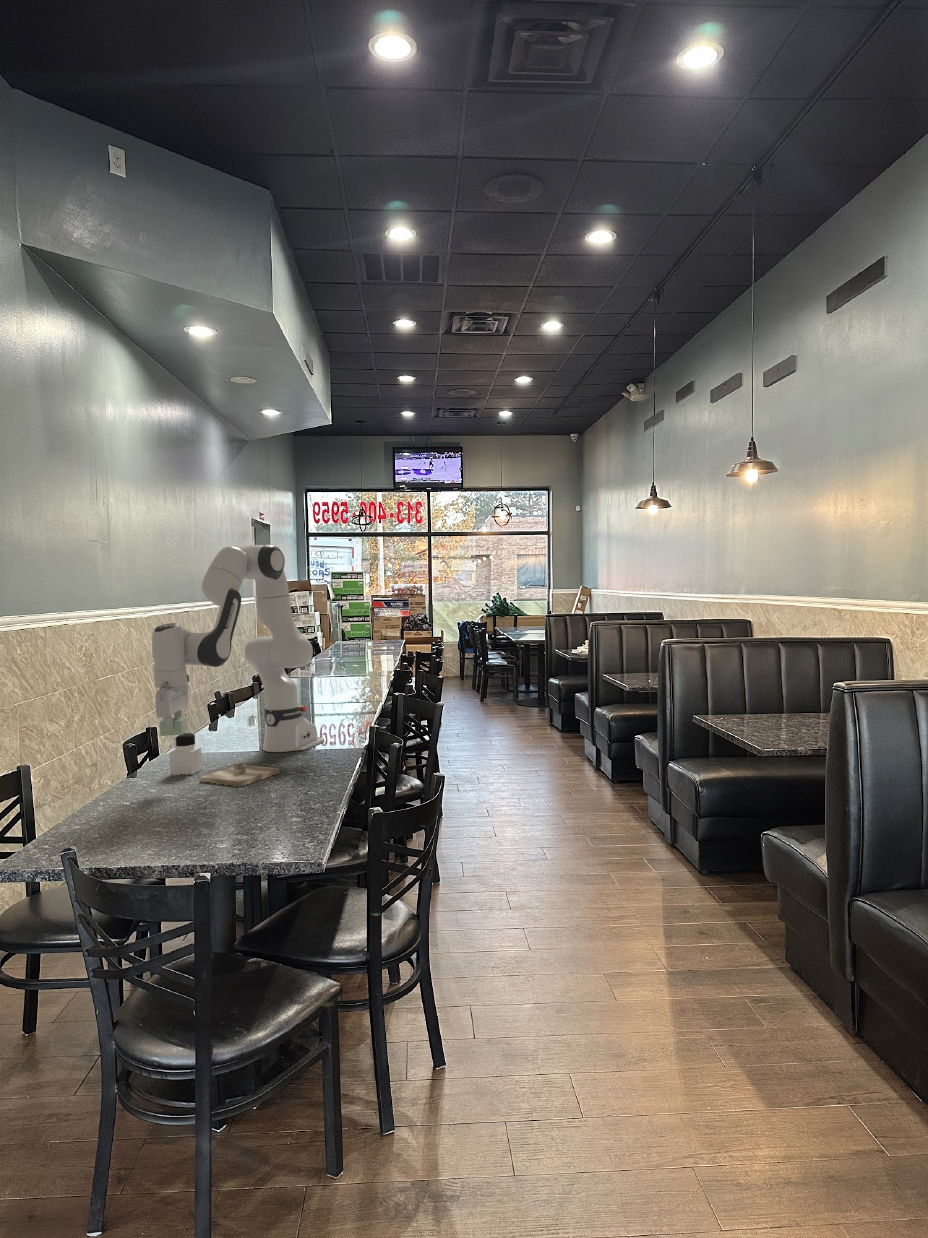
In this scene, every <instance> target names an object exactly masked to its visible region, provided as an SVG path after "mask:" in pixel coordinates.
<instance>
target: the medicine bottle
mask: <svg viewBox="0 0 928 1238" xmlns="http://www.w3.org/2000/svg"><path fill="white" fill-rule="evenodd" d="M173 739H174V740H173V741H174V742H173V743H174V748H175V749H174V750H172V751H170V752H169V766H170V767H169V768H170V775H171V774H172V775H171V776H174V775H173V774H183V775H182V776H189V774H193V775H194V774H196V773H197V772H200V771H201V770H203V761H202V760H203V759H202V758H203V757H202V747H201V746H196V735H195V734H194V733H193V732H192V733H191V732H185V733H184V734H182V735H174V737H173ZM184 774H185V775H184Z"/></svg>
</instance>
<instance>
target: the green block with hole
mask: <svg viewBox="0 0 928 1238" xmlns="http://www.w3.org/2000/svg"><path fill="white" fill-rule="evenodd" d="M187 720H188V718H187V716H185V717H183V716H181V718H174V717H173V718H172V721H173V723H174V729H173V730H166V724H165V721H164V719H162V720H160V721H159V733H160V734H159V735H160V737H163V736H165V737H168V736H176V735H182V734H184V733H187V732H188V721H187Z"/></svg>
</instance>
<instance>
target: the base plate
mask: <svg viewBox="0 0 928 1238" xmlns="http://www.w3.org/2000/svg"><path fill="white" fill-rule="evenodd" d="M276 774H277V775H279V774H280V768H276V767H270V766H269V767H267V766H259V765H258V766H257V765H250V764H246V761H238V762H234V763H233V766H230V767H227V768H224V769H221V770H217V771H215V772H211V773H207V774H204V775H200V776H199V778H200V779H199V780H200V783H206V782H211V783H210V784H213V783H216V784H215V785H221V784H224V785H223V786H228V785H234V786H233V787H236V786H238V787H237V788H241V787H243V785H244V786H247V785H250V784H253V783H255V782H259V781H262V780H265V779H267V777H268V778H271V777H273V776H272V775H274V776H276ZM270 776H271V777H270ZM261 779H262V780H261ZM258 780H259V781H258ZM252 782H253V783H252ZM246 784H247V785H246Z"/></svg>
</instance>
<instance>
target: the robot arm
mask: <svg viewBox="0 0 928 1238" xmlns="http://www.w3.org/2000/svg"><path fill="white" fill-rule="evenodd" d="M285 560H286V559H285V556H284V552H282V550H281V549H280V548H279V547H278V546H276V545H272V544H263V545H262V544H252V545H247V546H240V547H236V546H230V545H229V546H224V547H223V548H221V549H220V550H219V552H218V553H216V555H215V557H214V559H213V560H212V562H211V563H210V565H209V567H208V569H207V570H206V572H205V574H204V576H203V579H202V582H201V589H202V590H201V591H202V593H203V595H204V596H205V598H206V599H207V600H208V601H209V602H211V603H212V604H213V605H216V606H218V607H219V608H218V612H217V617H216V620H215V623H214V627H213V628H212V629H211V630H210V631H208V632H192V631H189V630H186V629H185V628H184V627H182V626H181V624H180V623H177V622H171V623H165V624H160V625H158V626H156V627H155V628H154V629H153V632H152V635H151V652H152V654H151V655H152V659H153V663H154V667H153V680H154V681H153V683H154V688H155V689H158V690H156V693H155V714H156V717H157V718H163V720H164V721H165V724H166V730H173V729H174V723H173V721H172V718H181V717H182V713H183V709H184V708H185V707H187V706H188V703H189V682H190V675H189V674H188V673H187V666H205V667H212V668H213V667H214V668H219V667H221V666H223V665H224V664H225V663H226V662H227V661H228V659H229V657H230V656H231V652H232V641H233V636H234V633H235V629H236V626H237V621H238V618H239V615H240V610H241V606H242V597H241V596H242V595H241V594H240V588H241V585H242V583H243V581H244V580H254V582H255V599H256V608H257V615H258V616H257V618H258V620H259V622H260V623H261V624H262V625H263V626H265V627H266V628H267V629H268V630H269V632H270V633H271V635H270V636H269V635H267V636H266V635H265V636H259V637H255V638H252V639H250V640H249V641H247V644H246V645H245V649H244V656H245V660H246V661H247V662H248V664H250V665H251V666H252V668H254V669H255V670H256V672H257V674H258V676H259V678H260V680H261V683H262V687H263V693H264V694H263V696H264V705H265V708H264V720H265V725H264V741H263V744H262V747H263V748H262V751H264V752H269V753H284V752H285V753H286V752H293V751H305V750H307V749H310V748H312V747H315V746H316V745H320V744H321V743H324V742H325V741H326V740H325V738H324V737H322V736H318V730H317V726H316V725H315V724H314V723H312V722H311V721H310V720H308V719H307V718H305V716H303V713H307V710H308V707H307V706H306V705H301V706H300V705H299V700H298V686H297V683H296V682H295V681H294V680H293V679H291V678H290V677H289V676H288V674H287V673H286V671H285V669H296V668H301V667H305V666H307V665H308V664H310V662H311V661H312V658H313V656H314V655H313V654H314V650H313V649H314V648H313V645H312V643H311V642H310V640H309V639H307V638H306V637H305V636H304V635H303V634H302V633H301V632H300V630H299V628H298V627H297V625H296V623H295V621H294V617H293V614H292V608H291V598H290V590H289V584H288V581H287V576H286V572H285V570H284V568H285V563H286V561H285Z"/></svg>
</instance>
